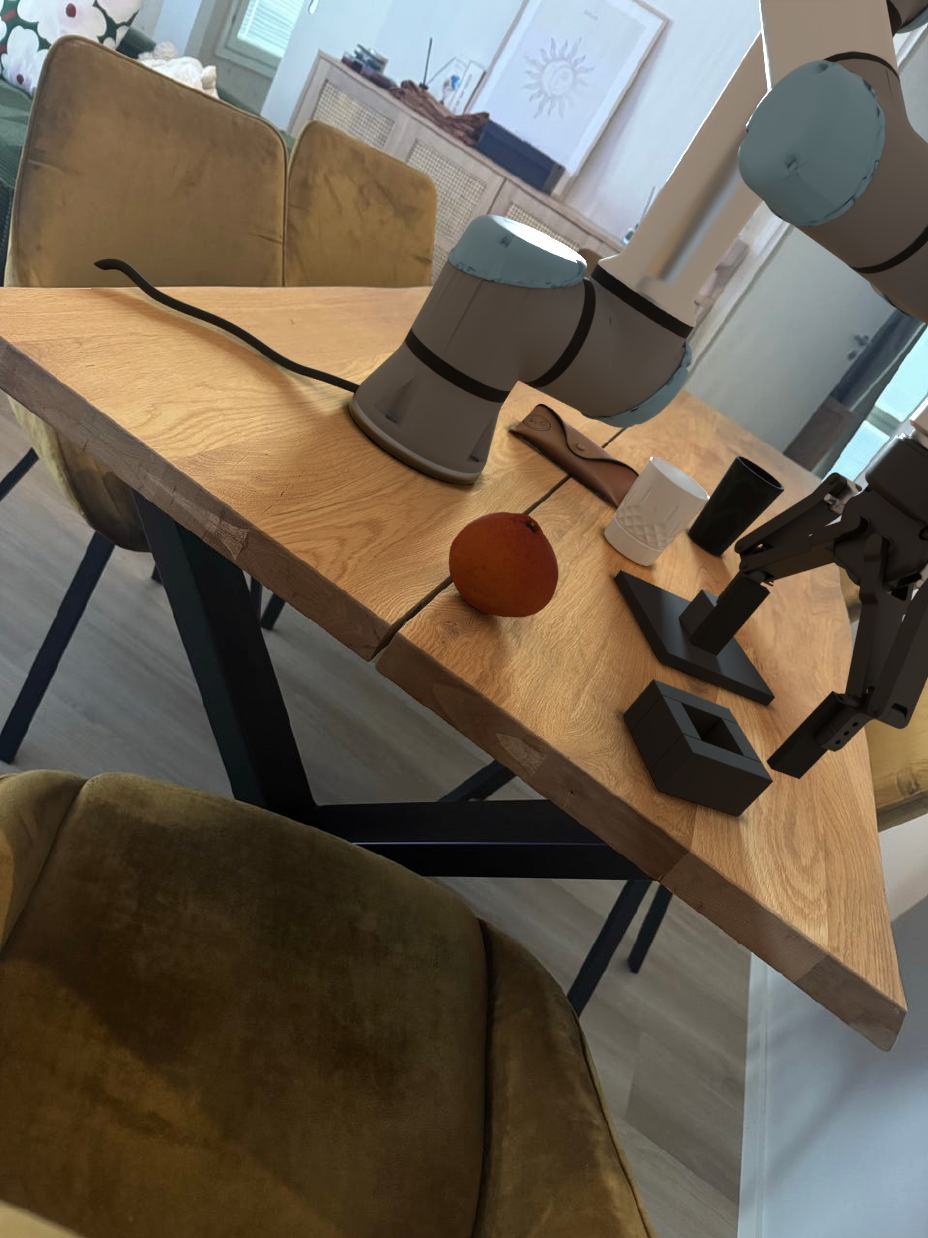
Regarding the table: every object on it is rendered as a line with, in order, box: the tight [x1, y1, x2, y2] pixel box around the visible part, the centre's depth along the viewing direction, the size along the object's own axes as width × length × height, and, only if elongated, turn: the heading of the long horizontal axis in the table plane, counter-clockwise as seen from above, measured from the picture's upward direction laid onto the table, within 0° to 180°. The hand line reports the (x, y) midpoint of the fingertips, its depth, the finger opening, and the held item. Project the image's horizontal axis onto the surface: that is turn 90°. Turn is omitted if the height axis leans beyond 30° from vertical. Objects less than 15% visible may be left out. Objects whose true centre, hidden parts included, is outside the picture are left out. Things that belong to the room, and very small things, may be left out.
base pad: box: [613, 569, 776, 706], centre depth 91 cm, size 14×14×5 cm
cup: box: [687, 455, 785, 557], centre depth 123 cm, size 8×8×12 cm
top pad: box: [622, 678, 774, 817], centre depth 68 cm, size 8×8×4 cm
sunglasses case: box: [509, 403, 640, 508], centre depth 119 cm, size 18×7×7 cm
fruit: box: [448, 511, 560, 619], centre depth 71 cm, size 9×9×8 cm
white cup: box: [603, 456, 710, 567], centre depth 103 cm, size 8×8×10 cm
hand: (738, 704), depth 66 cm, fingers open, 13 cm apart
